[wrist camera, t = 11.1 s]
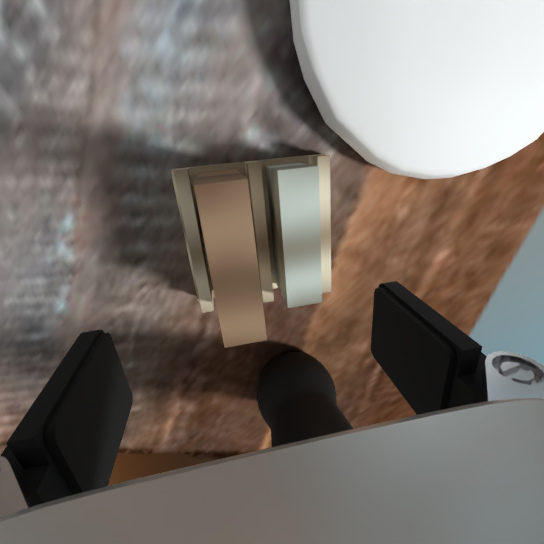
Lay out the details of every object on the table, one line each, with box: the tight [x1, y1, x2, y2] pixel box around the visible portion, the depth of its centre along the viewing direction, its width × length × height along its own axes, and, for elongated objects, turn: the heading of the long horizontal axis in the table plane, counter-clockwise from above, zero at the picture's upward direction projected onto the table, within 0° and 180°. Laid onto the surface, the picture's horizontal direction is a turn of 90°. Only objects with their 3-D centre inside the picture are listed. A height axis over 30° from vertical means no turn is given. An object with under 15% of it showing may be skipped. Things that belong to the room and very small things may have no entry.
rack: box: [171, 154, 331, 313], centre depth 26 cm, size 12×13×6 cm
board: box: [194, 169, 267, 348], centre depth 23 cm, size 11×3×9 cm, turn 5°
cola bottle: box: [257, 352, 353, 447], centre depth 22 cm, size 8×8×30 cm
